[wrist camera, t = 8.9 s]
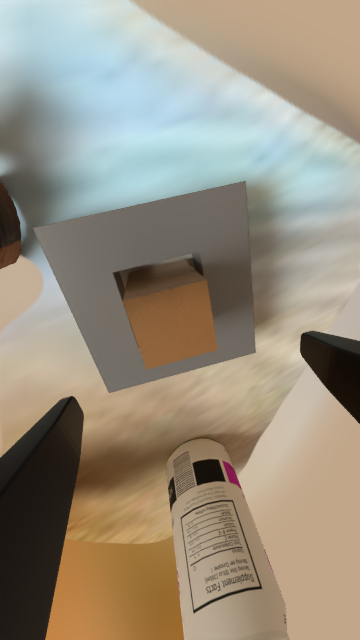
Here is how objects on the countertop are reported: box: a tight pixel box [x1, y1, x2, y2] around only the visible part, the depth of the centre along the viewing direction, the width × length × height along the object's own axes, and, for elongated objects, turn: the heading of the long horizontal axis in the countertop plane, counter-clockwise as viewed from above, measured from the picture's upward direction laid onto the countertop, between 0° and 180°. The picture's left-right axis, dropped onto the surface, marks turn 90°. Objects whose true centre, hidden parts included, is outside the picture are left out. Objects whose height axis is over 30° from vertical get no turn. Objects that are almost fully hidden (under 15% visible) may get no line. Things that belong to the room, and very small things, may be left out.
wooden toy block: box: [123, 259, 218, 370], centre depth 15 cm, size 4×4×7 cm
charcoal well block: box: [33, 181, 256, 393], centre depth 17 cm, size 13×13×4 cm
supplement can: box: [166, 438, 289, 640], centre depth 22 cm, size 8×8×15 cm
